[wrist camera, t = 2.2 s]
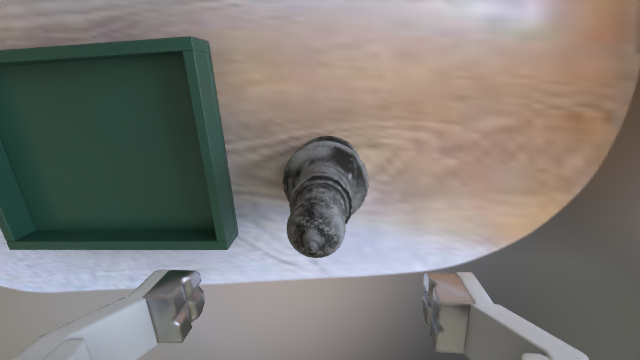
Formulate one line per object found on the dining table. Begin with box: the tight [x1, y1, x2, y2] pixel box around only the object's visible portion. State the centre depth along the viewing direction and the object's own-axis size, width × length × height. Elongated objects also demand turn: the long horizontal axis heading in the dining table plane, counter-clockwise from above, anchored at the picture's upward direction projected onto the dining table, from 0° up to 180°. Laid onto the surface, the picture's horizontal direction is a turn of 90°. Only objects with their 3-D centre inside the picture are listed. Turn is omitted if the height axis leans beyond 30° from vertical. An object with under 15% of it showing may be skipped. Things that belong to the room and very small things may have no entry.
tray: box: [0, 37, 238, 250], centre depth 24 cm, size 16×20×3 cm
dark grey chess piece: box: [283, 136, 369, 258], centre depth 18 cm, size 6×6×12 cm
